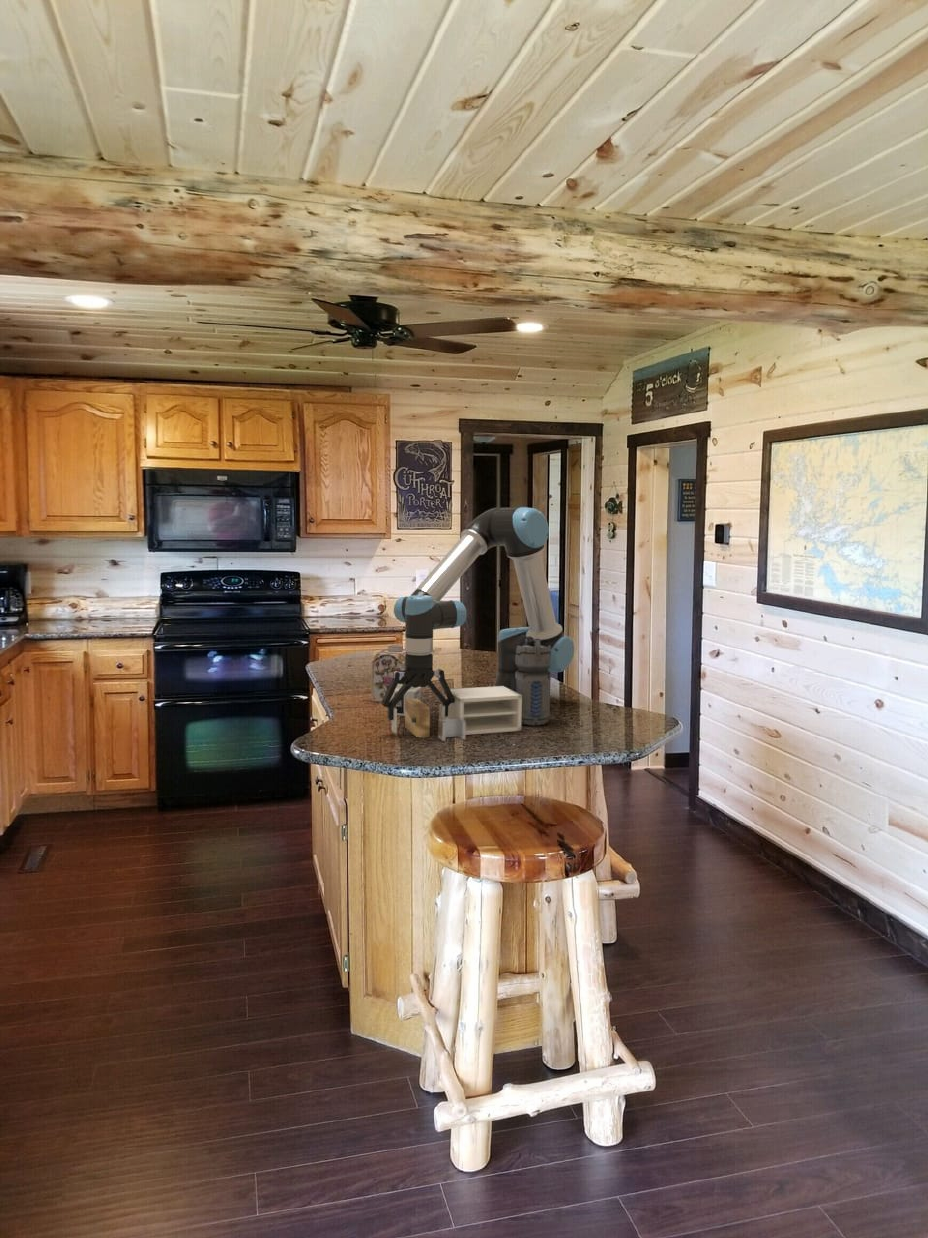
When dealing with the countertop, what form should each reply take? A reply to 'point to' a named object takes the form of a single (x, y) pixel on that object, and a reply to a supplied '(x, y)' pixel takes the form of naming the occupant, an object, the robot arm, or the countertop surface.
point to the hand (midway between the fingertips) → (418, 730)
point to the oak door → (417, 718)
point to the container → (405, 695)
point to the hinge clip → (451, 728)
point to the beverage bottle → (533, 681)
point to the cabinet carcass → (487, 709)
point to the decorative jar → (386, 669)
